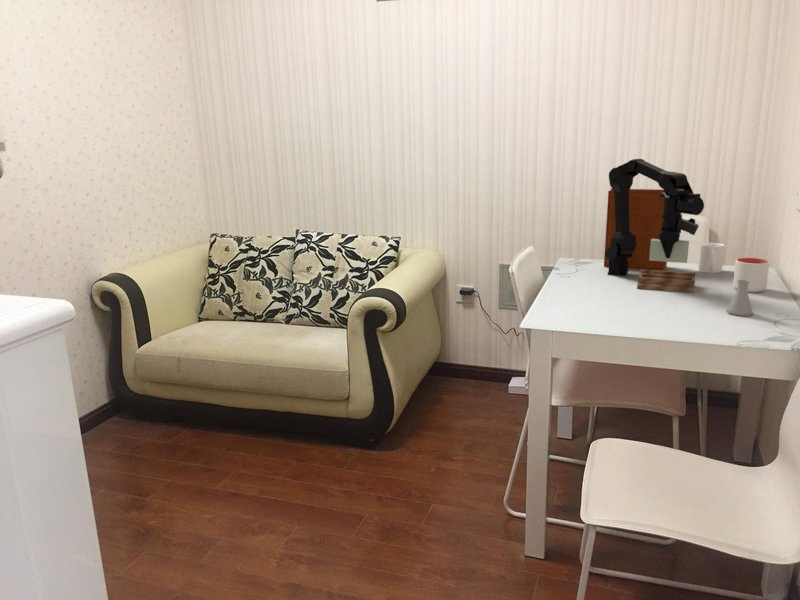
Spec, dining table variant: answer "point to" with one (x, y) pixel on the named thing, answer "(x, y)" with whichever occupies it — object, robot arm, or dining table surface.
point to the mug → (711, 257)
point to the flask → (741, 300)
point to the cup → (751, 273)
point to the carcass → (666, 280)
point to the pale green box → (677, 253)
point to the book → (639, 226)
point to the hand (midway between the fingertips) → (668, 256)
